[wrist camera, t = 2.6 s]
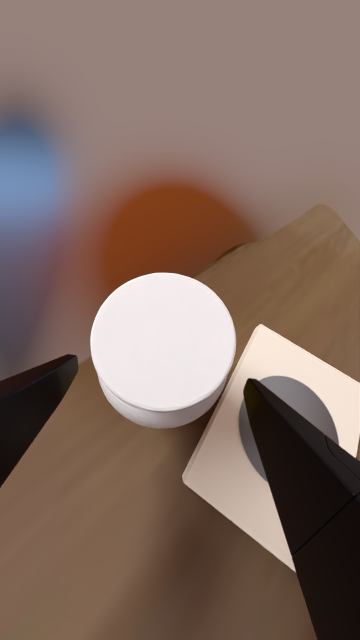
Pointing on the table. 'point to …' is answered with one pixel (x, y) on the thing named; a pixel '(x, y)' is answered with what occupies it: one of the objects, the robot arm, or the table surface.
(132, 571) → the table surface
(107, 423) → the table surface
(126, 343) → the supplement bottle
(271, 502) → the base
